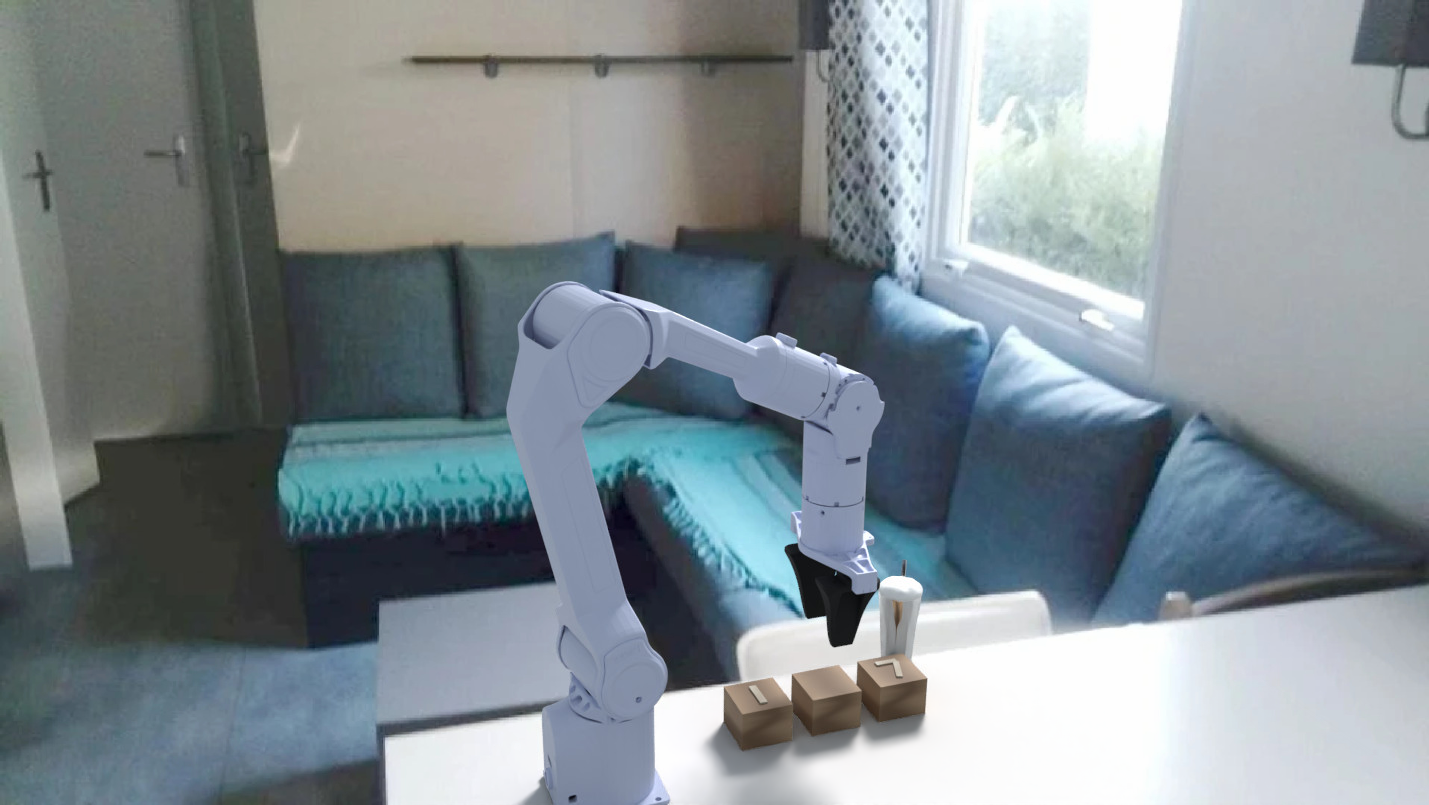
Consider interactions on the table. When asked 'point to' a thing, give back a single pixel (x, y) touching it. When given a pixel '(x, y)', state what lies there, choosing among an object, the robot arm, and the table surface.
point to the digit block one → (758, 713)
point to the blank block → (826, 700)
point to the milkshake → (899, 613)
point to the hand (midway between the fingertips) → (828, 629)
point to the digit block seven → (891, 687)
